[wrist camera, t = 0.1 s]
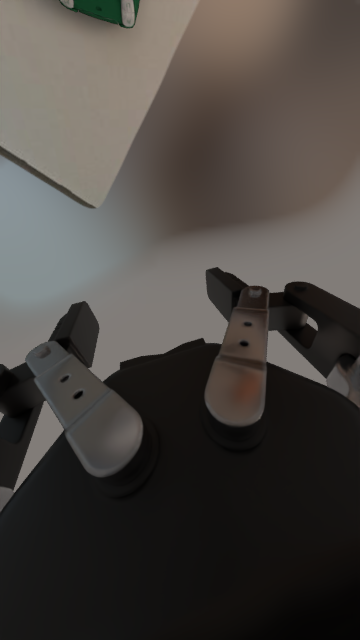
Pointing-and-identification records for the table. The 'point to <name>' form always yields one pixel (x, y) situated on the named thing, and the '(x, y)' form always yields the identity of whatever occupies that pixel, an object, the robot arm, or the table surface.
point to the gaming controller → (107, 10)
